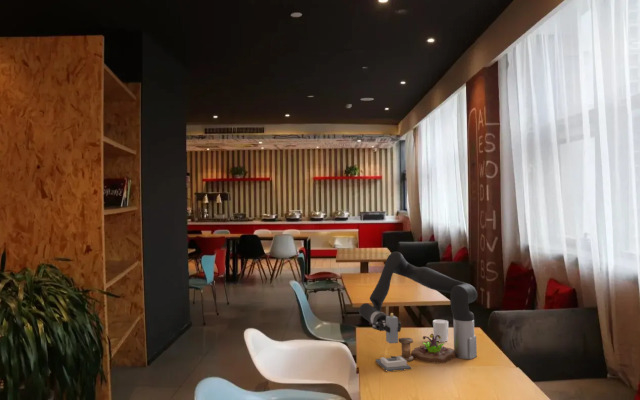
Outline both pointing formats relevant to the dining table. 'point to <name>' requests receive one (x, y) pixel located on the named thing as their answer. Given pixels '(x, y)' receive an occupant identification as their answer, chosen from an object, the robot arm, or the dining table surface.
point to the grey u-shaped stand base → (393, 363)
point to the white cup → (440, 330)
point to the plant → (433, 351)
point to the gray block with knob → (392, 329)
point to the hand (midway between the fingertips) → (394, 329)
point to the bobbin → (405, 348)
